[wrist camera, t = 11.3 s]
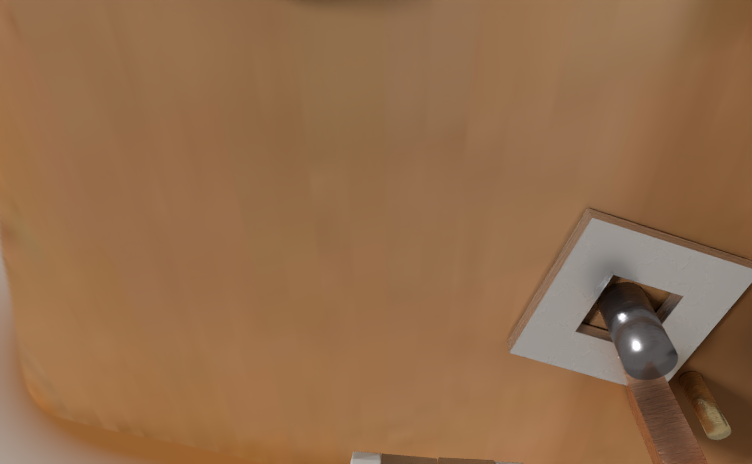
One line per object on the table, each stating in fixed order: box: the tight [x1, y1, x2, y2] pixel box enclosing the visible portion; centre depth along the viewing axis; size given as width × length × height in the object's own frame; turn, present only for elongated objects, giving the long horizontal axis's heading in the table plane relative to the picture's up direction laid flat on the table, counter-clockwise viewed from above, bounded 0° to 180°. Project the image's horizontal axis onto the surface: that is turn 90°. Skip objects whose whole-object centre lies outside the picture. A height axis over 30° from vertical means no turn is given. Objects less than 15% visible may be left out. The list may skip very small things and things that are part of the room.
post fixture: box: [598, 282, 731, 440], centre depth 41 cm, size 5×12×6 cm, turn 29°
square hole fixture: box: [507, 208, 752, 464], centre depth 38 cm, size 15×14×11 cm
